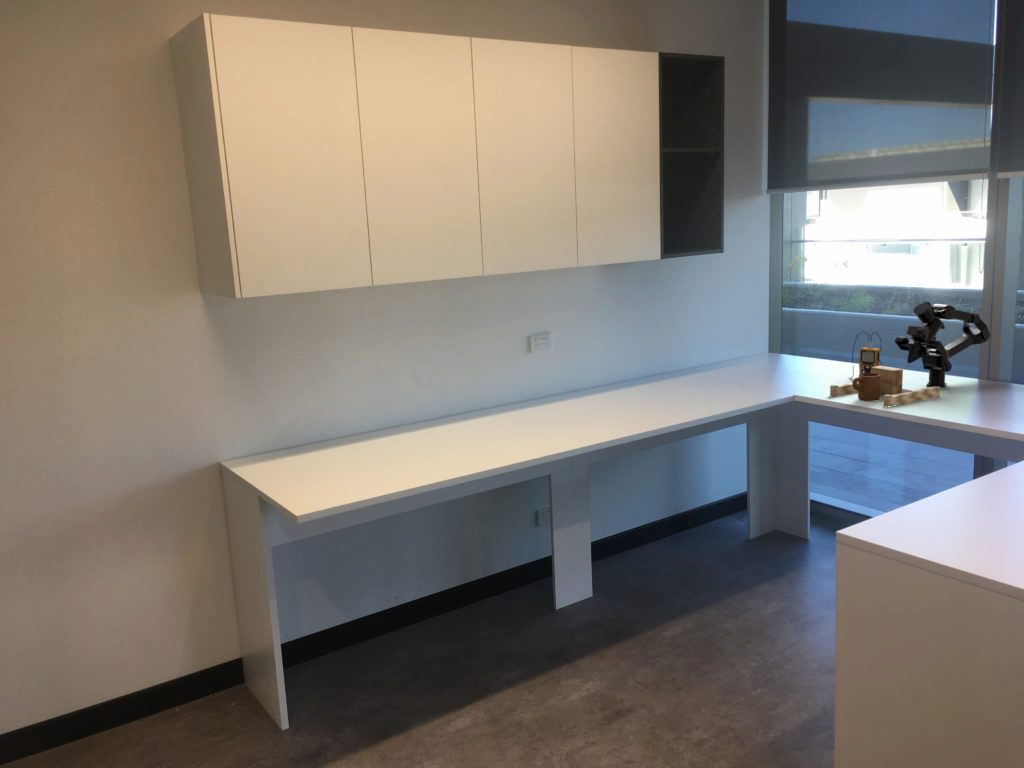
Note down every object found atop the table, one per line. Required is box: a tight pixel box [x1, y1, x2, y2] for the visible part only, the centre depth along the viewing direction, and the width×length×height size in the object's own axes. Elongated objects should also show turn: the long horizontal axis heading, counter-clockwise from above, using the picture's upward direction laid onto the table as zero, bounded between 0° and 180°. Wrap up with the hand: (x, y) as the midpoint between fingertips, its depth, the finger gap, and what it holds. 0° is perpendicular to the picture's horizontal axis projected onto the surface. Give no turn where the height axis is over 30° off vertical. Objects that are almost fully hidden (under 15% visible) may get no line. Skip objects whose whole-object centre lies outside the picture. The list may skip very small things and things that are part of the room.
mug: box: [851, 373, 881, 402], centre depth 307 cm, size 12×8×9 cm, turn 115°
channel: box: [829, 382, 941, 408], centre depth 312 cm, size 28×26×4 cm
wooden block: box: [871, 365, 904, 397], centre depth 312 cm, size 5×10×10 cm, turn 27°
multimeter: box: [848, 331, 883, 381], centre depth 340 cm, size 15×10×20 cm
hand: (908, 362), depth 316 cm, fingers closed
